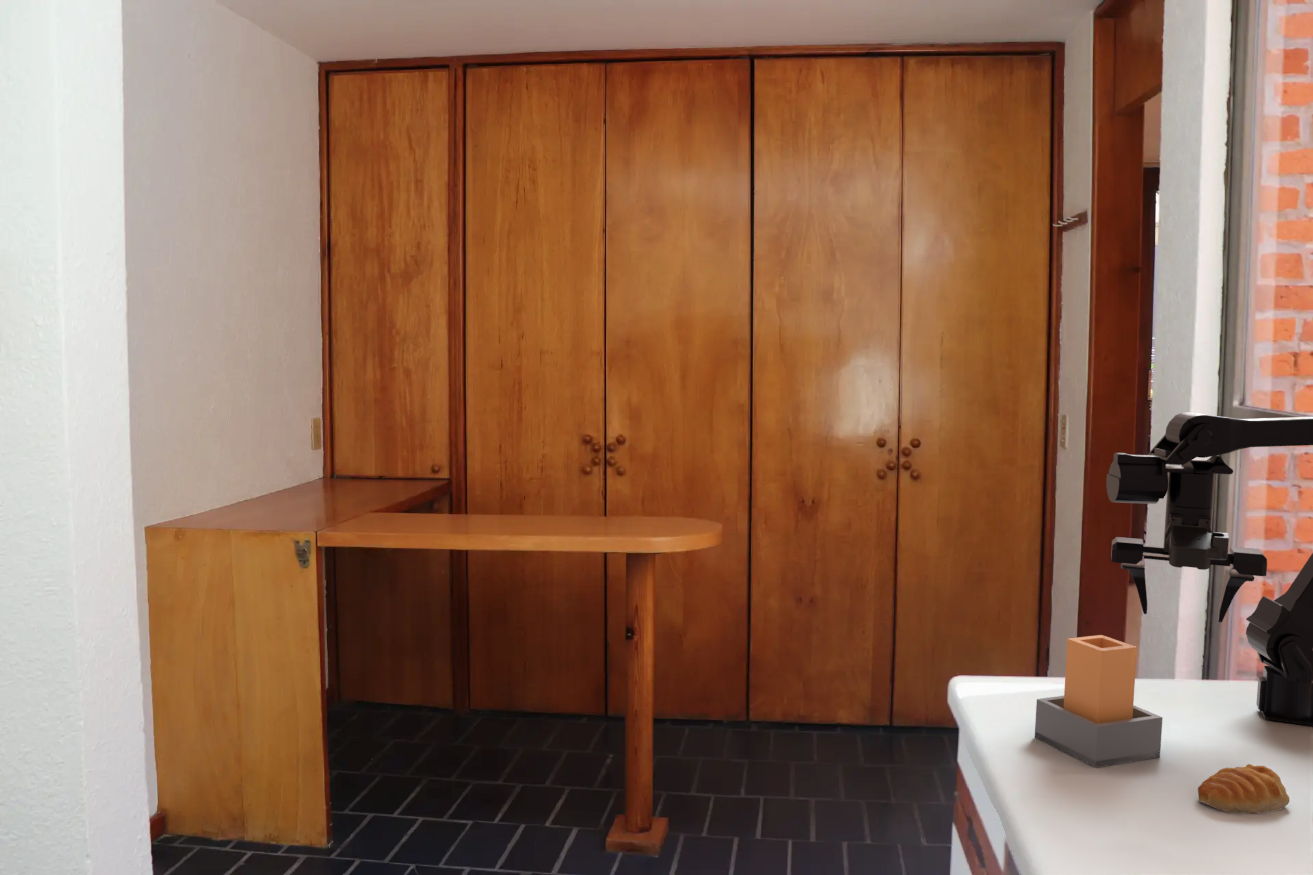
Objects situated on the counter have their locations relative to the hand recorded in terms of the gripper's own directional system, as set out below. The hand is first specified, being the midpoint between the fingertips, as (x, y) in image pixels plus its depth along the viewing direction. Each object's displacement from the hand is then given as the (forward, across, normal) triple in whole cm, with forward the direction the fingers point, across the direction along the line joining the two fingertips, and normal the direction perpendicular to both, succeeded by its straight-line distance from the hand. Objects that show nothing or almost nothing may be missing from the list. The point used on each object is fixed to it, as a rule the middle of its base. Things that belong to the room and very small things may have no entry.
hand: (1181, 617), depth 143 cm
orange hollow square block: (+12, -10, -20) cm, 25 cm away
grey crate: (+13, -10, -20) cm, 26 cm away
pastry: (+14, +5, -30) cm, 33 cm away
